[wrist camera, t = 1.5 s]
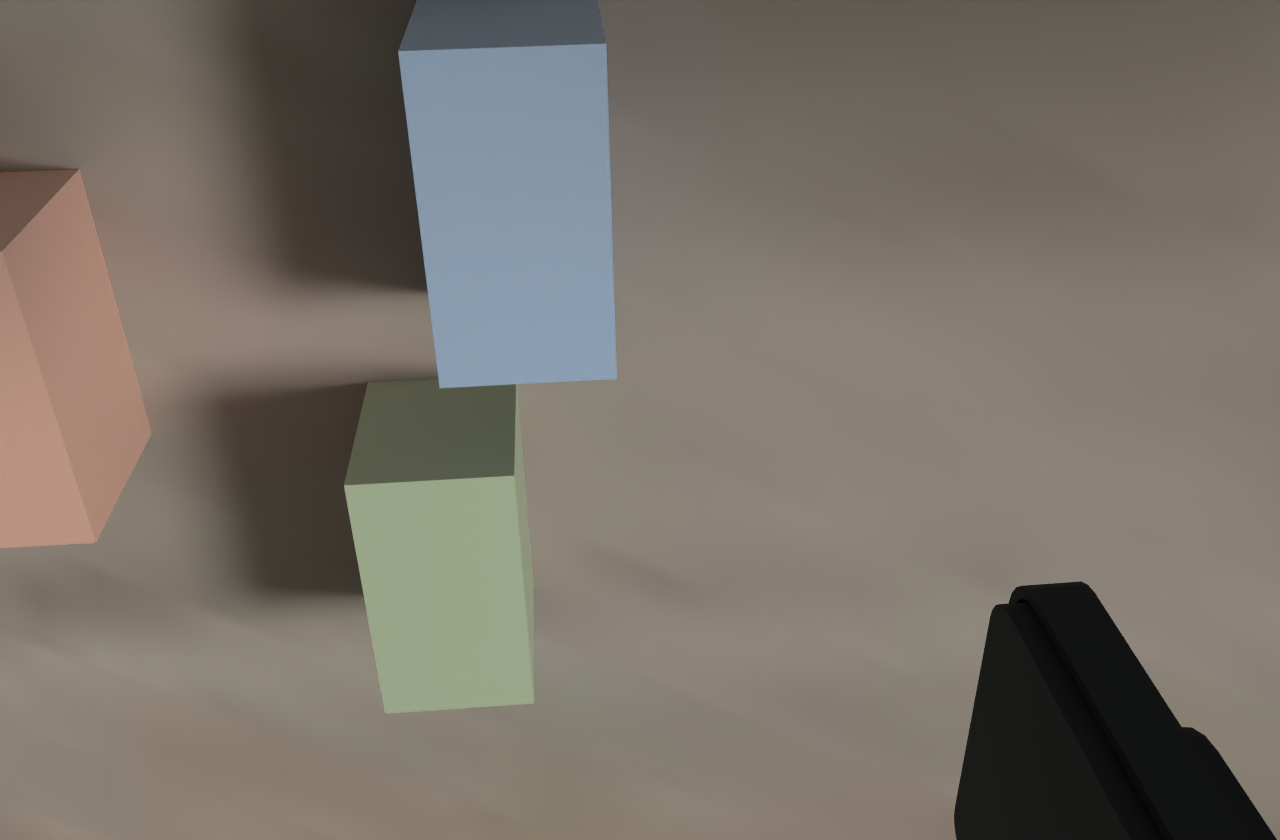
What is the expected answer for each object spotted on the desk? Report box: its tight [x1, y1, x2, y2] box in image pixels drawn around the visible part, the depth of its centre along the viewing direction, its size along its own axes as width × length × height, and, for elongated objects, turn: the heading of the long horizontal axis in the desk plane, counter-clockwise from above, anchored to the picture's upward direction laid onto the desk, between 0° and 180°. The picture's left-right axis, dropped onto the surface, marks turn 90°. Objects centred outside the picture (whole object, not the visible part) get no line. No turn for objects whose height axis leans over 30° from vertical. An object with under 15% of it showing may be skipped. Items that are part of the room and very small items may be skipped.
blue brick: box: [398, 0, 617, 388], centre depth 21 cm, size 3×6×4 cm, turn 1°
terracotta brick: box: [0, 169, 152, 548], centre depth 22 cm, size 3×6×4 cm, turn 1°
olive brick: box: [344, 379, 534, 714], centre depth 26 cm, size 3×6×4 cm, turn 1°
